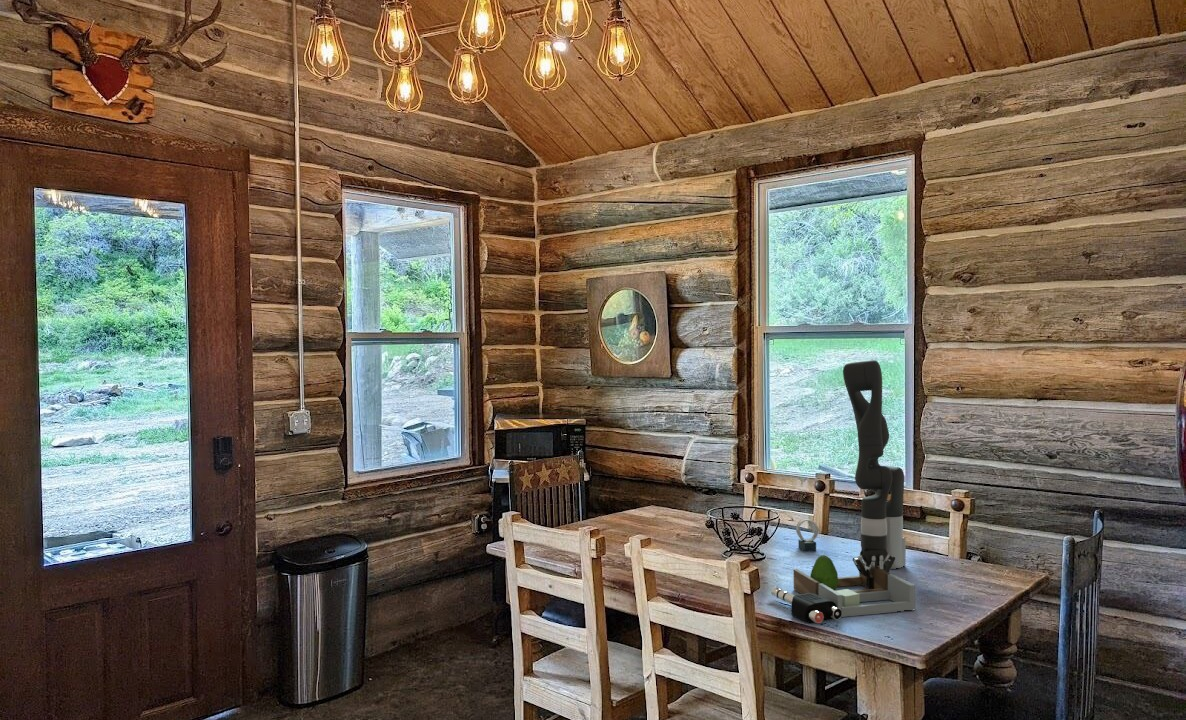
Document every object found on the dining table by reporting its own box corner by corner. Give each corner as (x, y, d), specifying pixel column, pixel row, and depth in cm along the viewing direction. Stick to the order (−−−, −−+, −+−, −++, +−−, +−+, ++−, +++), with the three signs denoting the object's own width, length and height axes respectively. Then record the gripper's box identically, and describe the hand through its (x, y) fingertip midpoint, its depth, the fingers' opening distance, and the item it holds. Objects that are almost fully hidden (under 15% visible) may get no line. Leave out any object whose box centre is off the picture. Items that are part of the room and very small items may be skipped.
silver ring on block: (821, 550, 291) (821, 520, 291) (800, 552, 290) (799, 521, 289) (814, 547, 296) (814, 517, 296) (793, 548, 295) (793, 518, 295)
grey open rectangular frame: (892, 597, 237) (892, 574, 237) (915, 610, 226) (915, 585, 226) (818, 604, 232) (818, 580, 232) (838, 617, 221) (837, 591, 221)
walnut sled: (864, 583, 251) (863, 560, 251) (889, 597, 238) (889, 573, 238) (793, 588, 246) (793, 566, 246) (815, 603, 233) (815, 579, 233)
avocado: (821, 600, 236) (821, 559, 236) (805, 593, 243) (804, 553, 243) (844, 597, 239) (843, 556, 239) (826, 589, 246) (826, 550, 246)
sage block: (847, 606, 231) (847, 588, 231) (859, 611, 226) (859, 593, 226) (833, 608, 229) (833, 591, 229) (845, 614, 224) (845, 596, 224)
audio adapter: (812, 608, 214) (755, 583, 236) (812, 628, 214) (755, 601, 237) (844, 602, 218) (786, 578, 241) (844, 622, 218) (786, 596, 241)
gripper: (887, 527, 249) (887, 583, 250) (846, 530, 246) (846, 587, 247) (901, 533, 242) (901, 591, 242) (859, 536, 239) (860, 594, 239)
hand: (874, 588), depth 244 cm, fingers closed on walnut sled
